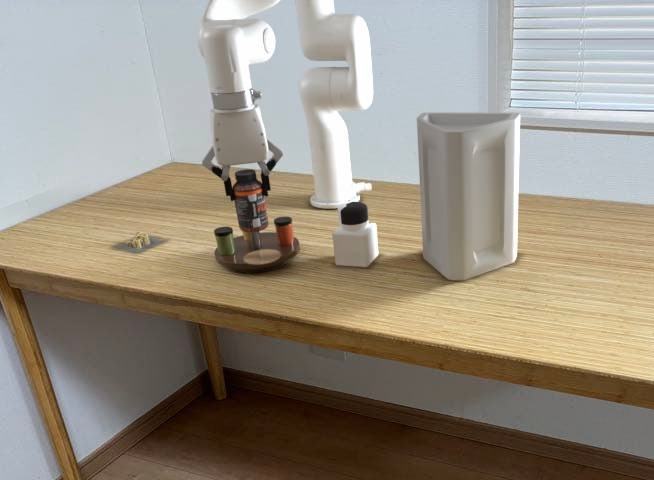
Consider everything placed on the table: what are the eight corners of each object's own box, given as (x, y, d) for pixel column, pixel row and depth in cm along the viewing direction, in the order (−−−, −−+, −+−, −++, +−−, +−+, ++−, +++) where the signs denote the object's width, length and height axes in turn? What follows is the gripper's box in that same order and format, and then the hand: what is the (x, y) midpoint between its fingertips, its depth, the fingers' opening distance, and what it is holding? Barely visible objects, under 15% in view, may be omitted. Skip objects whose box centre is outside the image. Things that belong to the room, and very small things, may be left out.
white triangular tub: (408, 277, 152) (400, 131, 137) (428, 249, 164) (422, 112, 149) (504, 283, 147) (506, 132, 132) (517, 254, 159) (520, 112, 144)
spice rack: (210, 246, 169) (199, 193, 163) (290, 232, 173) (282, 180, 167) (222, 277, 154) (211, 220, 147) (310, 261, 158) (302, 205, 152)
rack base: (286, 245, 171) (285, 239, 171) (292, 267, 161) (291, 260, 160) (227, 254, 169) (226, 247, 169) (230, 276, 159) (228, 269, 158)
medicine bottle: (379, 255, 163) (374, 199, 157) (367, 268, 158) (362, 211, 151) (348, 252, 165) (342, 197, 159) (335, 265, 160) (328, 209, 153)
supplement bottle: (266, 232, 152) (257, 175, 146) (237, 234, 152) (226, 177, 146) (271, 222, 157) (262, 166, 151) (242, 223, 157) (232, 168, 151)
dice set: (140, 238, 181) (138, 230, 180) (154, 242, 179) (153, 234, 178) (123, 245, 178) (121, 237, 177) (137, 249, 175) (135, 241, 174)
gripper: (277, 91, 146) (290, 186, 156) (185, 101, 143) (204, 197, 153) (281, 99, 140) (294, 196, 150) (185, 109, 137) (205, 208, 147)
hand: (249, 196), depth 151 cm, fingers closed on supplement bottle, 6 cm apart
